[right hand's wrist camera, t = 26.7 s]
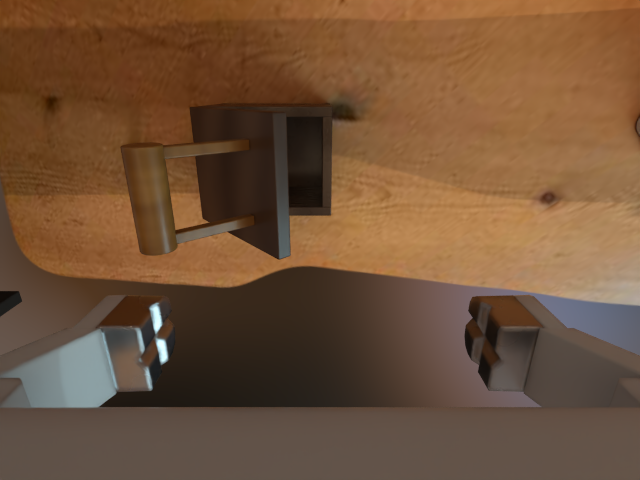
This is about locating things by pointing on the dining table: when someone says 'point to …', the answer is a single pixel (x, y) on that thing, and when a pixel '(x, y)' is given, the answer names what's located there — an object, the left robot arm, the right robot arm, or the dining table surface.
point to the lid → (217, 181)
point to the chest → (304, 154)
